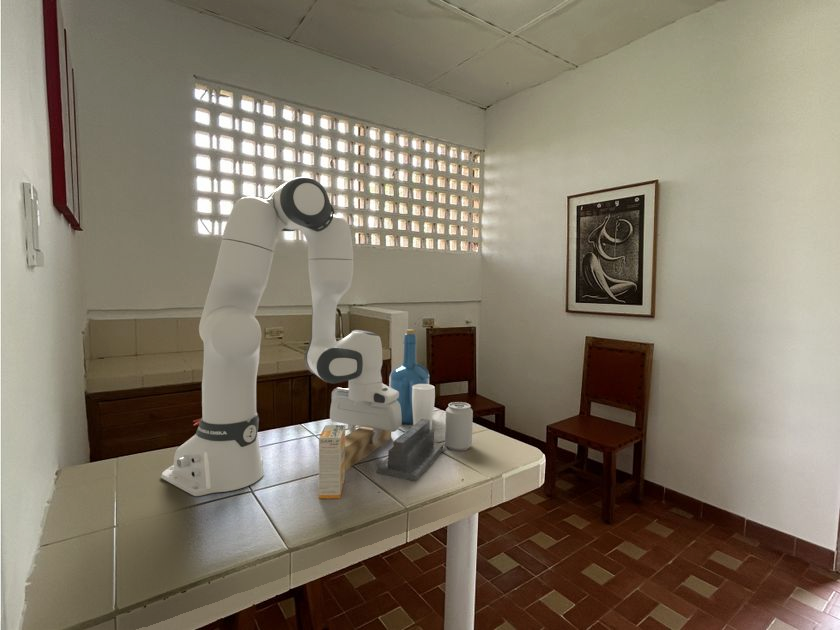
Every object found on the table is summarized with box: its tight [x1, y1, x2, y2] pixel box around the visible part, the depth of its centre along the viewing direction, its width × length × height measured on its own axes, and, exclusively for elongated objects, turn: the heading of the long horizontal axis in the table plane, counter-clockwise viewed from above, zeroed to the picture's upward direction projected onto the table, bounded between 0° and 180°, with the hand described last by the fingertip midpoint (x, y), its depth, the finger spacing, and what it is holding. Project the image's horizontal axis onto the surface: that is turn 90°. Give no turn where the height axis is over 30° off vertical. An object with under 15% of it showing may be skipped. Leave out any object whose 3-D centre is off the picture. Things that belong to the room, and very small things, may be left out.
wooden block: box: [345, 426, 392, 472], centre depth 111 cm, size 24×4×6 cm, turn 157°
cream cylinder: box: [412, 383, 436, 430], centre depth 122 cm, size 7×7×15 cm
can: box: [444, 401, 474, 452], centre depth 115 cm, size 8×8×12 cm
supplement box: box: [317, 424, 346, 500], centre depth 89 cm, size 8×5×13 cm, turn 4°
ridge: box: [376, 419, 445, 482], centre depth 105 cm, size 10×20×8 cm, turn 158°
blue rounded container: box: [388, 328, 430, 425], centre depth 137 cm, size 14×13×30 cm
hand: (364, 441), depth 111 cm, fingers closed on wooden block, 4 cm apart
